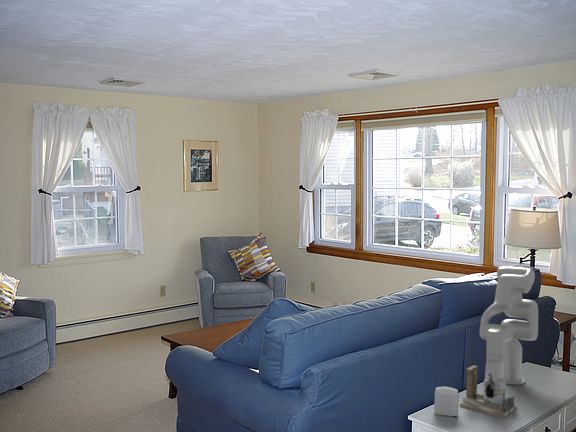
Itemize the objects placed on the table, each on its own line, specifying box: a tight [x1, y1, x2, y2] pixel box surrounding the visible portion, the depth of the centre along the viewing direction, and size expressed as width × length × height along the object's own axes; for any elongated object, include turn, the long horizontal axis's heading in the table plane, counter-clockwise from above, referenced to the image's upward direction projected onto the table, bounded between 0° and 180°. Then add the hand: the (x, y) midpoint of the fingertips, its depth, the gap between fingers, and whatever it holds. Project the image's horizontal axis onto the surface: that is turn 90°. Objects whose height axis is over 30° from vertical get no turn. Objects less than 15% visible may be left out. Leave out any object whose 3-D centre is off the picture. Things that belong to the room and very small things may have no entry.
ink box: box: [483, 379, 506, 407], centre depth 274 cm, size 9×5×12 cm, turn 57°
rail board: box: [459, 392, 517, 419], centre depth 276 cm, size 14×20×6 cm
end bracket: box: [465, 365, 478, 399], centre depth 281 cm, size 6×2×15 cm, turn 137°
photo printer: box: [433, 386, 460, 417], centre depth 268 cm, size 10×4×12 cm, turn 72°
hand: (494, 393), depth 274 cm, fingers open, 9 cm apart
